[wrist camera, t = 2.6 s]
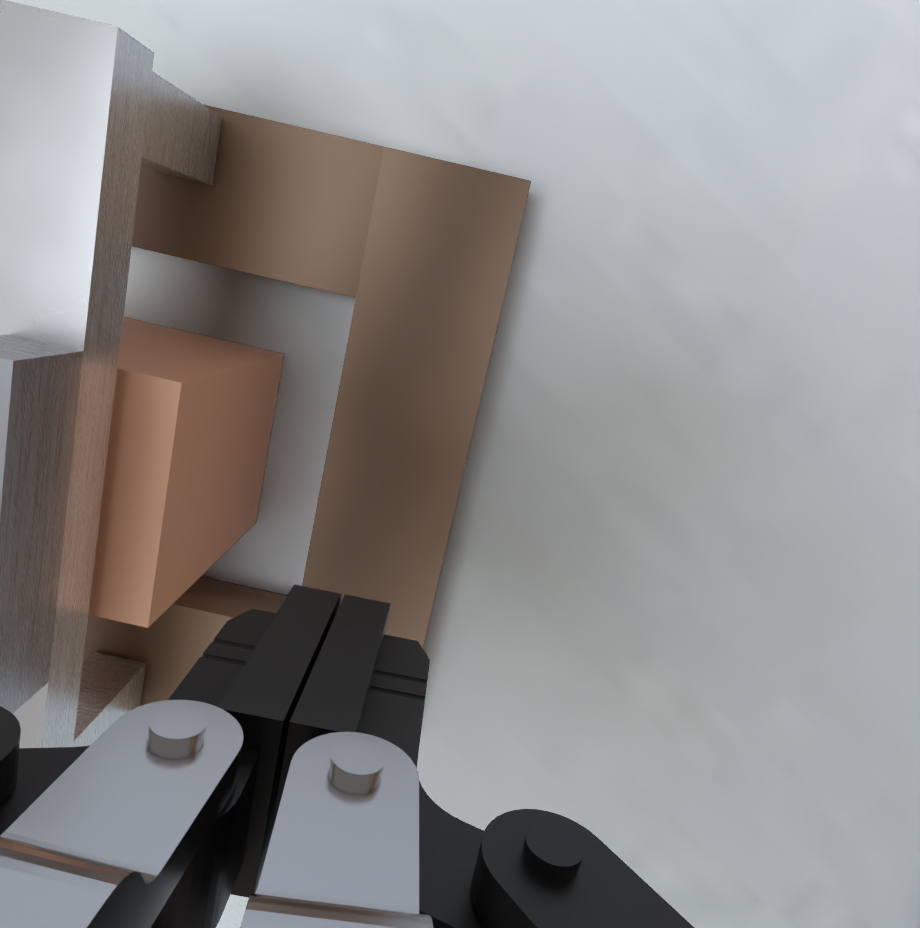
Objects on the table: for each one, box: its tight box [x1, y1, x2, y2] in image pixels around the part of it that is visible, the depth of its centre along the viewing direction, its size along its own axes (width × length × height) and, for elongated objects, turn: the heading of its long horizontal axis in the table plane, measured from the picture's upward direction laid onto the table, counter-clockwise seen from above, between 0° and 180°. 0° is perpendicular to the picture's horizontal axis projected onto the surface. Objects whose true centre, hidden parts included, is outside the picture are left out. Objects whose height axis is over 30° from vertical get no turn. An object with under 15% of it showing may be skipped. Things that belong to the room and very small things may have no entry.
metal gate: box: [0, 0, 222, 748], centre depth 15 cm, size 3×16×8 cm, turn 167°
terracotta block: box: [88, 317, 284, 628], centre depth 18 cm, size 5×5×7 cm
